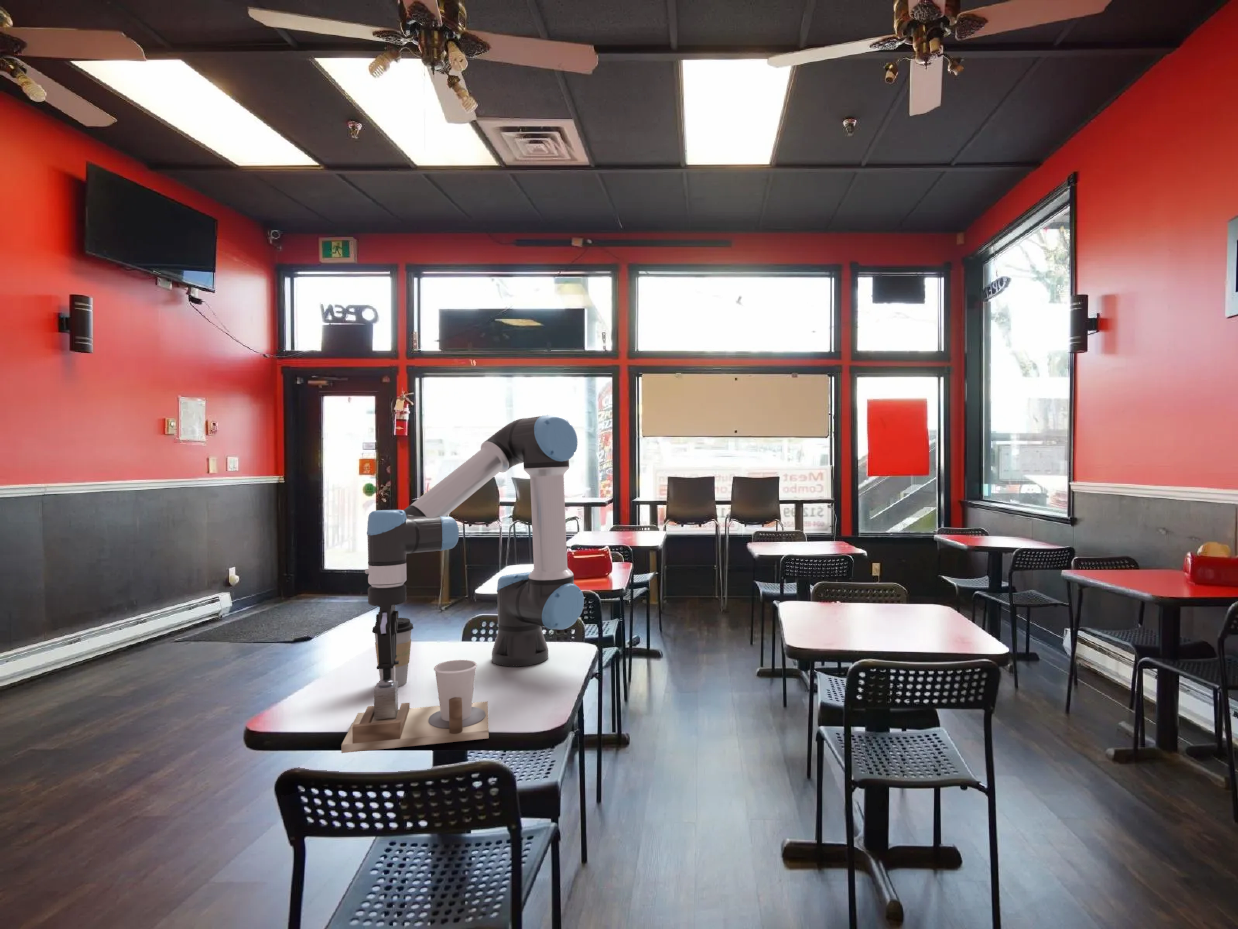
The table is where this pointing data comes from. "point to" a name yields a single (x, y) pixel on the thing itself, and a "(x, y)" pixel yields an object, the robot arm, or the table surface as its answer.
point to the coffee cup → (399, 649)
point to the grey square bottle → (386, 699)
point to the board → (416, 727)
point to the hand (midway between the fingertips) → (388, 698)
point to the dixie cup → (455, 685)
